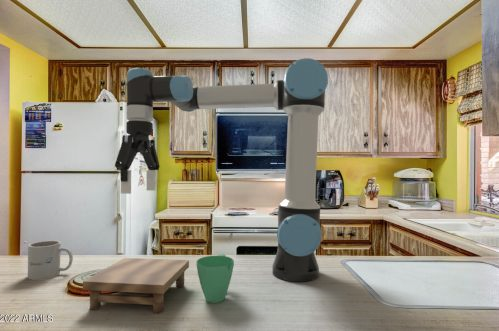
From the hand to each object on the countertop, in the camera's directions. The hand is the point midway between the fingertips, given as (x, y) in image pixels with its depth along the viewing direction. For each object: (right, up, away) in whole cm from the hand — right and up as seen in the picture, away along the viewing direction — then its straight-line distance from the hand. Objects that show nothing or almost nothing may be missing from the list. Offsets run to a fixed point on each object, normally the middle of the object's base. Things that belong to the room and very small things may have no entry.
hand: (139, 191), depth 93 cm
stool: (+4, -27, -10) cm, 29 cm away
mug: (-30, -27, +5) cm, 41 cm away
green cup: (+24, -27, -9) cm, 38 cm away
